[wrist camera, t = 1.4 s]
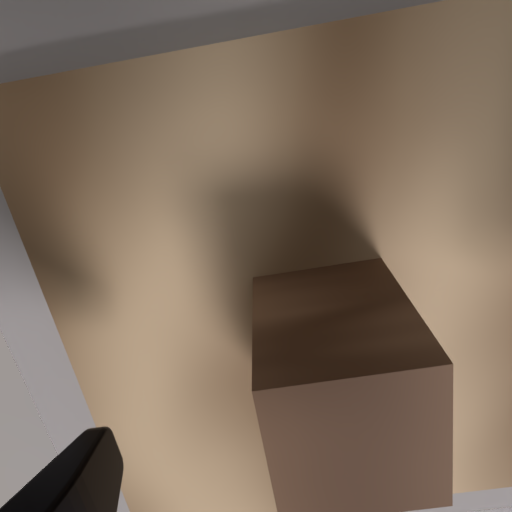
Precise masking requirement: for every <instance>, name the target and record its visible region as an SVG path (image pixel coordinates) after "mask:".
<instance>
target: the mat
mask: <svg viewBox="0 0 512 512" xmlns="http://www.w3.org/2000/svg"><path fill="white" fill-rule="evenodd" d="M439 1H444V0H0V84H1V83H6V82H12V81H17V80H22V79H28V78H33V77H38V76H44V75H49V74H54V73H60V72H65V71H70V70H76V69H81V68H86V67H92V66H97V65H102V64H108V63H113V62H118V61H124V60H129V59H134V58H140V57H145V56H150V55H156V54H161V53H166V52H172V51H177V50H182V49H188V48H193V47H198V46H204V45H209V44H214V43H220V42H225V41H230V40H236V39H241V38H246V37H252V36H257V35H263V34H268V33H273V32H279V31H284V30H289V29H295V28H300V27H305V26H311V25H316V24H321V23H327V22H332V21H337V20H343V19H348V18H353V17H359V16H364V15H369V14H375V13H380V12H385V11H391V10H396V9H401V8H407V7H412V6H417V5H423V4H428V3H433V2H439ZM0 330H1V332H2V334H3V337H4V339H5V341H6V343H7V345H8V348H9V350H10V352H11V354H12V356H13V358H14V361H15V363H16V365H17V367H18V369H19V372H20V374H21V376H22V378H23V380H24V383H25V385H26V387H27V389H28V391H29V394H30V396H31V398H32V400H33V402H34V404H35V406H36V409H37V411H38V413H39V415H40V417H41V420H42V422H43V424H44V426H45V428H46V431H47V433H48V435H49V437H50V439H51V442H52V444H53V446H54V448H55V450H56V453H57V455H59V454H60V453H61V452H62V451H63V450H64V449H65V448H66V447H67V446H68V445H69V444H71V443H72V442H73V441H74V440H75V439H76V438H77V437H78V436H79V435H80V434H81V433H82V432H84V431H85V430H87V429H89V428H95V427H96V425H95V423H94V420H93V418H92V415H91V413H90V410H89V408H88V405H87V403H86V400H85V398H84V395H83V393H82V390H81V388H80V385H79V383H78V380H77V378H76V375H75V373H74V370H73V368H72V365H71V363H70V360H69V358H68V355H67V353H66V350H65V348H64V345H63V343H62V340H61V338H60V335H59V333H58V330H57V328H56V325H55V323H54V320H53V318H52V315H51V313H50V310H49V308H48V305H47V303H46V300H45V298H44V295H43V293H42V290H41V287H40V285H39V282H38V280H37V277H36V275H35V272H34V270H33V267H32V265H31V262H30V260H29V257H28V255H27V252H26V250H25V247H24V245H23V242H22V240H21V237H20V235H19V232H18V230H17V227H16V225H15V222H14V220H13V217H12V215H11V212H10V210H9V207H8V205H7V202H6V200H5V197H4V195H3V192H2V190H1V187H0ZM507 507H512V487H506V488H497V489H489V490H480V491H472V492H464V493H455V494H453V506H449V507H440V508H432V509H423V510H414V511H406V512H473V511H481V510H490V509H498V508H507ZM117 512H130V511H129V508H128V506H127V503H126V501H125V498H124V496H123V493H122V491H121V489H120V496H119V502H118V508H117Z"/></svg>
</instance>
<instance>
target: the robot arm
mask: <svg viewBox="0 0 512 512" xmlns="http://www.w3.org/2000/svg"><path fill="white" fill-rule="evenodd" d="M123 470H124V465H123V458H122V455H121V452H120V450H119V447H118V445H117V442H116V439H115V437H114V434H113V432H112V430H111V429H110V428H109V427H107V426H103V427H95V428H89V429H87V430H85V431H84V432H82V433H81V434H80V435H79V436H78V437H77V438H76V439H75V440H74V441H73V442H72V443H71V444H69V445H68V446H67V447H66V448H65V449H64V450H63V451H62V452H61V453H60V454H59V455H58V456H57V457H55V458H54V459H53V460H52V461H51V462H50V463H49V464H48V465H47V466H46V467H45V468H44V469H42V470H41V471H40V472H39V473H38V474H37V475H36V476H35V477H34V478H33V479H32V480H31V481H29V482H28V483H27V484H26V485H25V486H24V487H23V488H22V489H21V490H20V491H19V492H18V493H16V494H15V495H14V496H13V497H12V498H11V499H10V500H9V501H8V502H7V503H6V504H5V505H3V506H2V507H1V508H0V512H117V508H118V502H119V496H120V489H121V483H122V477H123Z"/></svg>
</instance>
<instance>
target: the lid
mask: <svg viewBox="0 0 512 512" xmlns="http://www.w3.org/2000/svg"><path fill="white" fill-rule="evenodd" d="M0 187H1V190H2V192H3V195H4V197H5V200H6V202H7V205H8V207H9V210H10V212H11V215H12V217H13V220H14V222H15V225H16V227H17V230H18V232H19V235H20V237H21V240H22V242H23V245H24V247H25V250H26V252H27V255H28V257H29V260H30V262H31V265H32V267H33V270H34V272H35V275H36V277H37V280H38V282H39V285H40V287H41V290H42V293H43V295H44V298H45V300H46V303H47V305H48V308H49V310H50V313H51V315H52V318H53V320H54V323H55V325H56V328H57V330H58V333H59V335H60V338H61V340H62V343H63V345H64V348H65V350H66V353H67V355H68V358H69V360H70V363H71V365H72V368H73V370H74V373H75V375H76V378H77V380H78V383H79V385H80V388H81V390H82V393H83V395H84V398H85V400H86V403H87V405H88V408H89V410H90V413H91V415H92V418H93V420H94V423H95V425H96V427H103V426H107V427H109V428H110V429H111V430H112V432H113V434H114V437H115V439H116V442H117V445H118V447H119V450H120V452H121V455H122V458H123V465H124V470H123V477H122V483H121V491H122V493H123V496H124V498H125V501H126V503H127V506H128V508H129V511H130V512H406V511H414V510H423V509H432V508H440V507H449V506H453V494H455V493H464V492H472V491H480V490H489V489H497V488H506V487H512V0H444V1H439V2H433V3H428V4H423V5H417V6H412V7H407V8H401V9H396V10H391V11H385V12H380V13H375V14H369V15H364V16H359V17H353V18H348V19H343V20H337V21H332V22H327V23H321V24H316V25H311V26H305V27H300V28H295V29H289V30H284V31H279V32H273V33H268V34H263V35H257V36H252V37H246V38H241V39H236V40H230V41H225V42H220V43H214V44H209V45H204V46H198V47H193V48H188V49H182V50H177V51H172V52H166V53H161V54H156V55H150V56H145V57H140V58H134V59H129V60H124V61H118V62H113V63H108V64H102V65H97V66H92V67H86V68H81V69H76V70H70V71H65V72H60V73H54V74H49V75H44V76H38V77H33V78H28V79H22V80H17V81H12V82H6V83H1V84H0Z"/></svg>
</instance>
